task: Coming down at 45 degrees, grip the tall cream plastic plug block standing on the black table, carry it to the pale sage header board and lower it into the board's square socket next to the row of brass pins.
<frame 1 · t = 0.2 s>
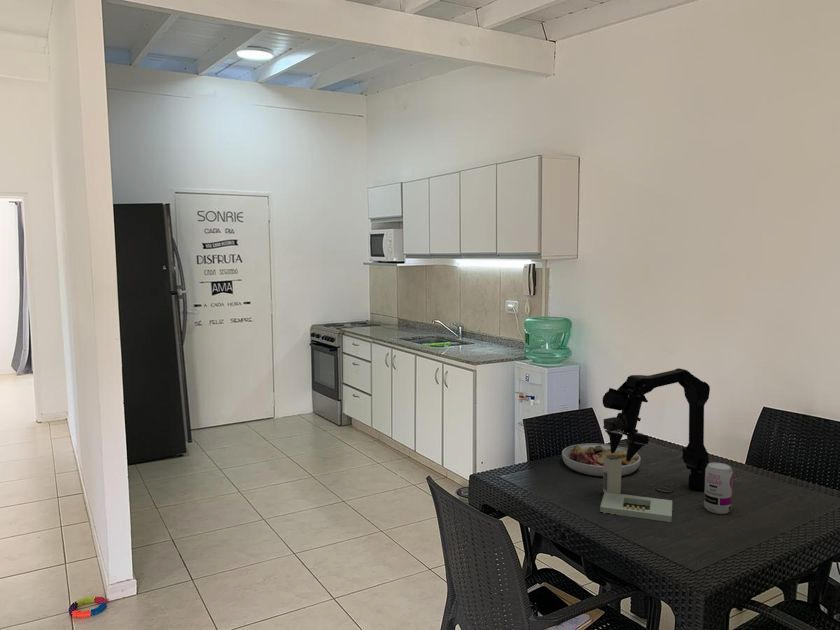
hand: (619, 456, 231), 15 cm above the table, tool pointing down, fingers open, 9 cm apart
header board: (636, 509, 225), on the table
supplement can: (717, 510, 224), on the table
bowl: (600, 467, 269), on the table
plug: (611, 493, 239), on the table
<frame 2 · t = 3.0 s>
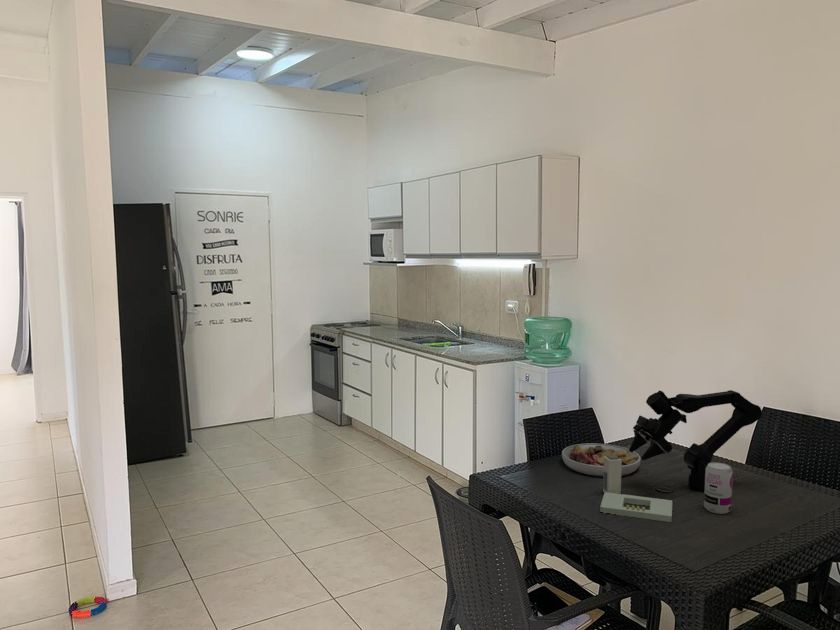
hand: (635, 455, 239), 13 cm above the table, tool tilted 45°, fingers open, 9 cm apart
nothing on the table moved.
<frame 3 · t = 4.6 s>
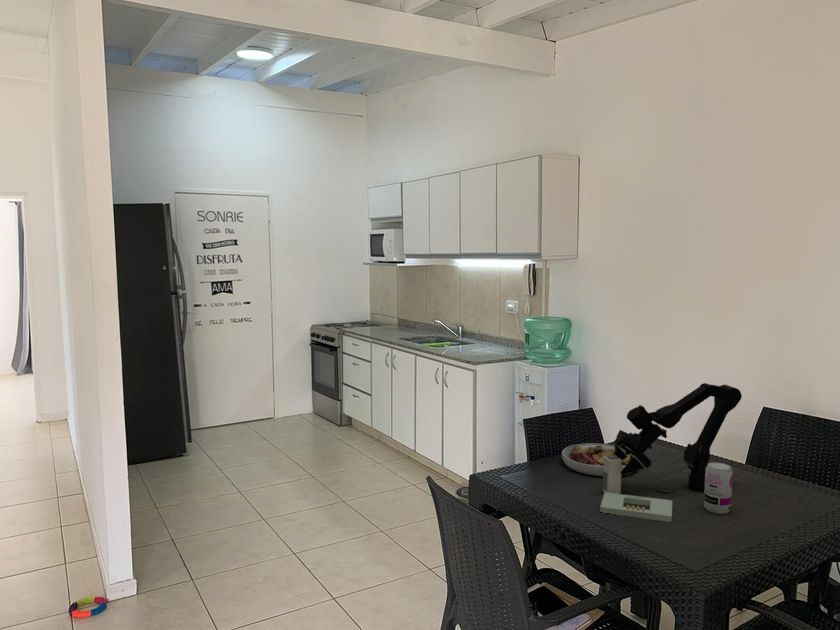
hand: (615, 469, 238), 9 cm above the table, tool tilted 45°, fingers open, 9 cm apart
nothing on the table moved.
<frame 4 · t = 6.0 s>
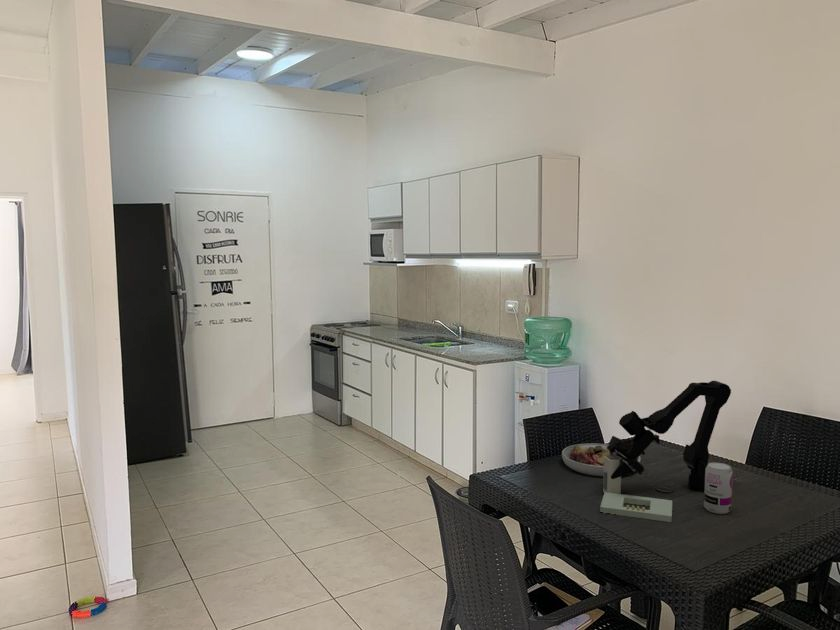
hand: (608, 476, 238), 7 cm above the table, tool tilted 45°, fingers closed on plug, 4 cm apart
plug: (611, 493, 239), on the table, touching gripper
everything else where it was.
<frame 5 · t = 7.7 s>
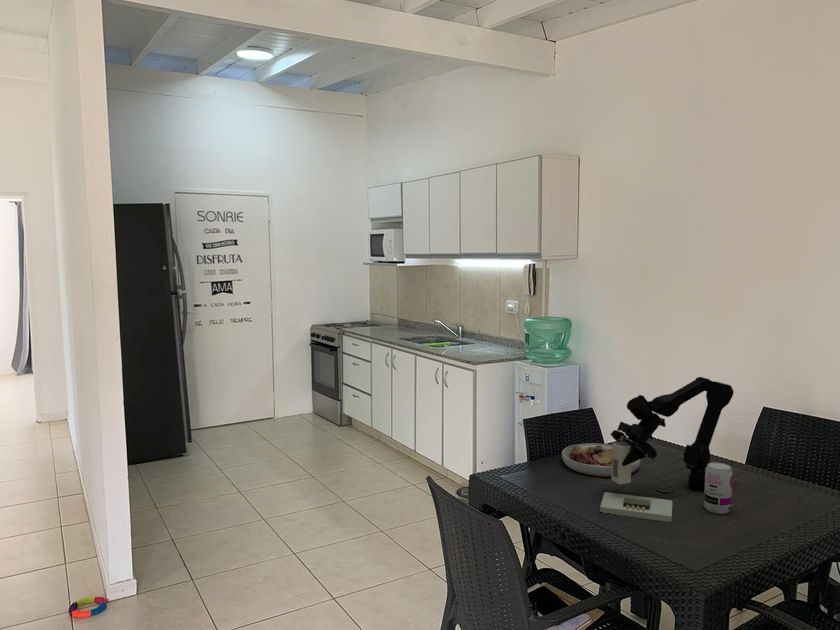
hand: (618, 463, 230), 13 cm above the table, tool tilted 45°, fingers closed on plug, 4 cm apart
plug: (621, 481, 231), point 7 cm above the table, touching gripper
everything else where it was.
when the fingers open (9 cm above the table, at t = 9.7 s): plug drops 2 cm, resting in header board.
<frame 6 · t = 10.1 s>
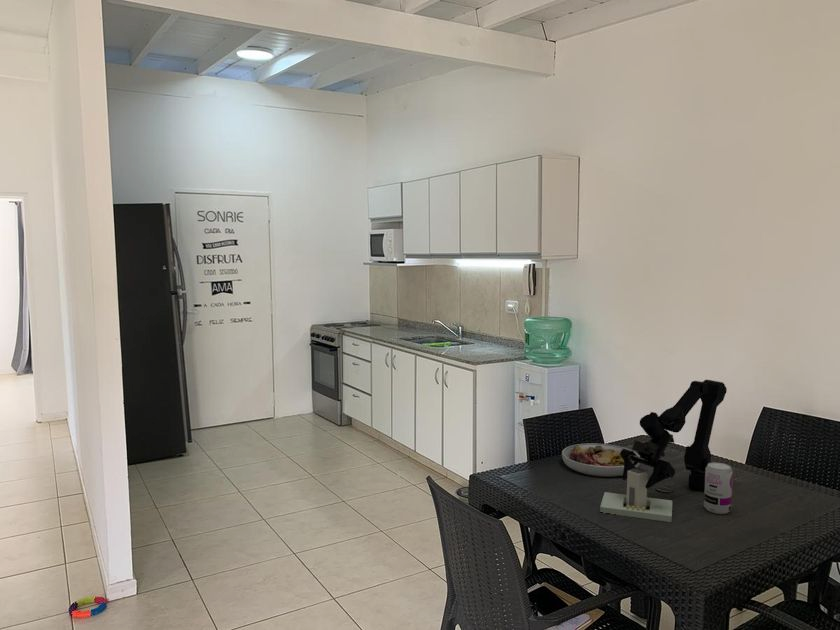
hand: (634, 483, 223), 9 cm above the table, tool tilted 45°, fingers open, 9 cm apart
plug: (636, 509, 225), resting in header board
everything else where it was.
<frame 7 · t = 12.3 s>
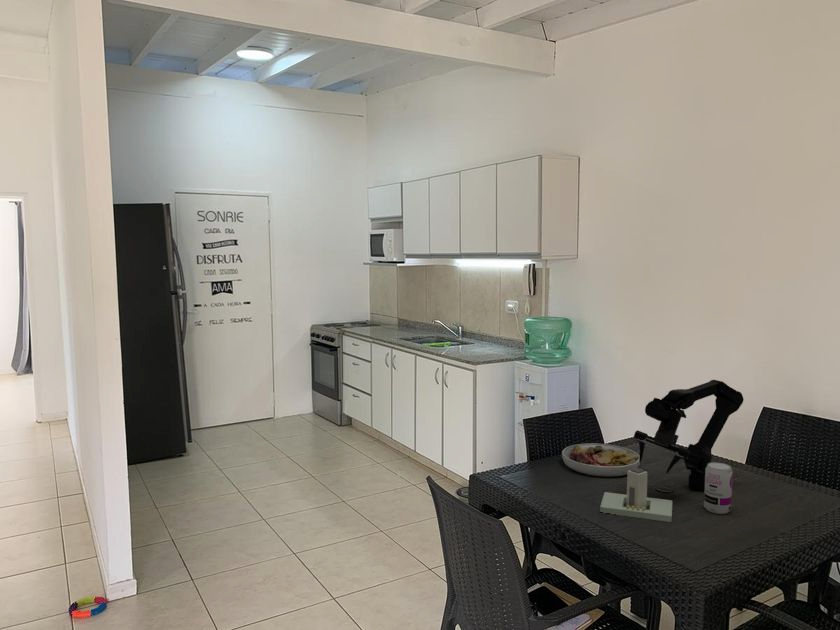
hand: (653, 468, 233), 11 cm above the table, tool tilted 25°, fingers open, 9 cm apart
nothing on the table moved.
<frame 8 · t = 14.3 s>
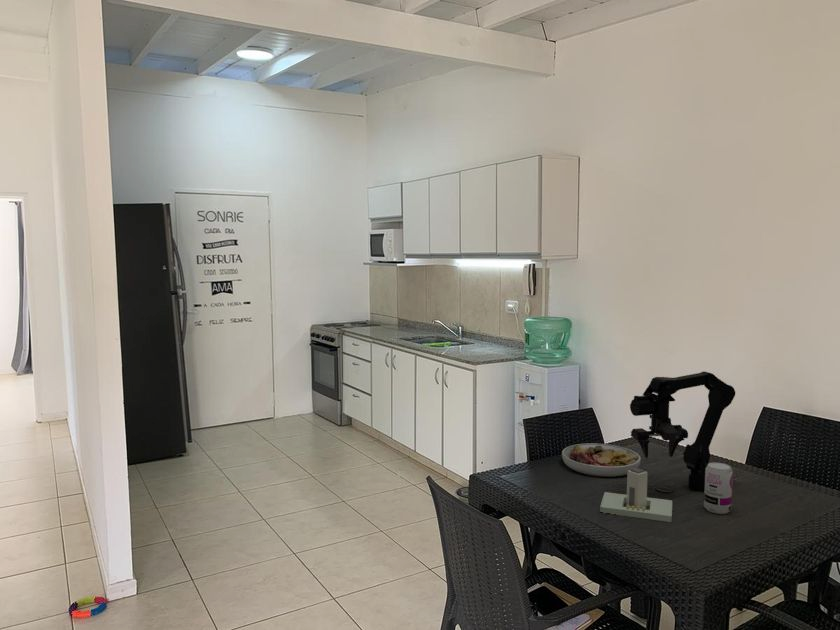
hand: (658, 457, 238), 13 cm above the table, tool pointing down, fingers open, 9 cm apart
nothing on the table moved.
at the end: plug inside the target area on the header board (0.1 cm from its centre), point 0.0 cm above the header board's base; plug tilted 0°; the gripper is holding nothing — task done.
